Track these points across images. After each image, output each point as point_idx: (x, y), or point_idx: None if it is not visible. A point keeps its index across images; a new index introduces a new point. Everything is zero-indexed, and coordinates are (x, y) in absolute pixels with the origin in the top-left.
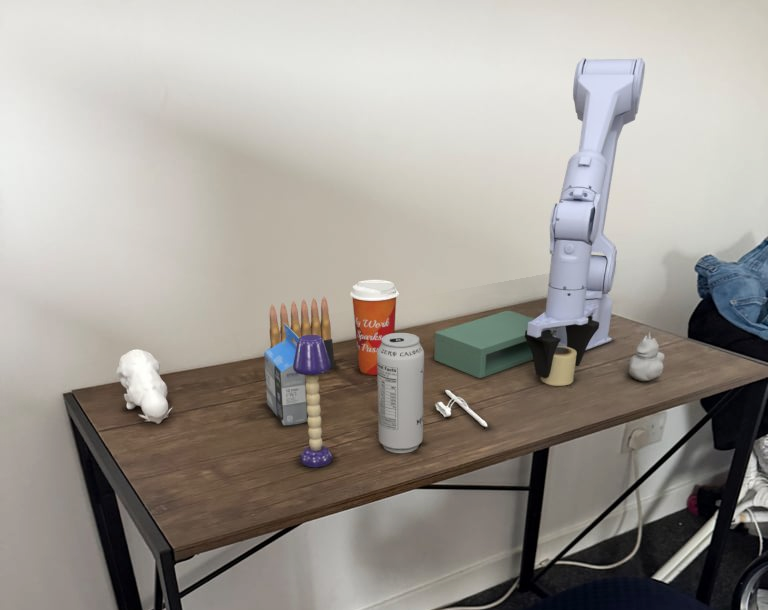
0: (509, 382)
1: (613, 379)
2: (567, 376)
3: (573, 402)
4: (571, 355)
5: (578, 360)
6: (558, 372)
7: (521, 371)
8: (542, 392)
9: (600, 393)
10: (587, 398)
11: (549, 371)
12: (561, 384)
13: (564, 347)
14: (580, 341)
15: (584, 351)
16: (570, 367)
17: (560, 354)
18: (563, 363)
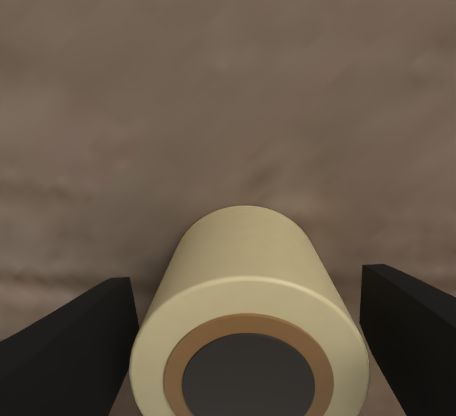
0: None
1: (13, 120)
2: (262, 221)
3: (403, 31)
4: (246, 287)
5: (115, 291)
6: (315, 256)
7: None
8: (407, 216)
9: (197, 28)
10: (304, 23)
11: (391, 274)
12: (284, 217)
13: (172, 408)
14: (43, 395)
15: (53, 314)
16: (250, 239)
17: (306, 343)
18: (309, 270)
